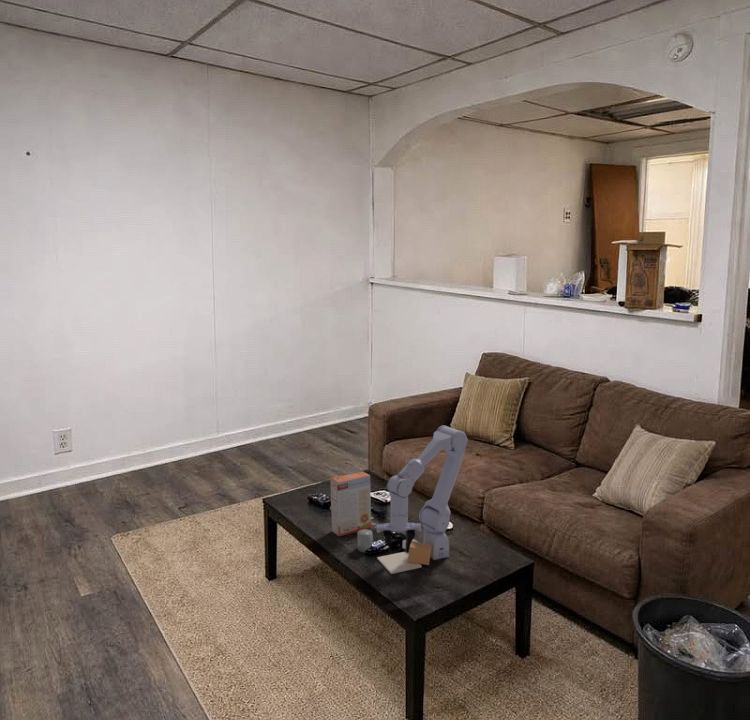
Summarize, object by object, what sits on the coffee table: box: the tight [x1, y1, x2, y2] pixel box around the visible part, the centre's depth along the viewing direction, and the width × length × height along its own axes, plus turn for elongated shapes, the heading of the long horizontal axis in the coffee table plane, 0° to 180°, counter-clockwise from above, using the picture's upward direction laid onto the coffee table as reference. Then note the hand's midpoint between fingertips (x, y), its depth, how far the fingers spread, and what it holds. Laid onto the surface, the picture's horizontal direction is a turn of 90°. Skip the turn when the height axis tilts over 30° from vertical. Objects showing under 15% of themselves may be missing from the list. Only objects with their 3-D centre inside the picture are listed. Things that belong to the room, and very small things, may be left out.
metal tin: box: [402, 538, 419, 551], centre depth 216 cm, size 5×4×3 cm
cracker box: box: [330, 471, 372, 538], centre depth 230 cm, size 14×6×21 cm, turn 122°
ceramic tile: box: [376, 551, 423, 575], centre depth 207 cm, size 11×11×1 cm
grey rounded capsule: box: [356, 529, 373, 553], centre depth 217 cm, size 5×5×6 cm
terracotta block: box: [408, 541, 432, 566], centre depth 207 cm, size 5×5×7 cm
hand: (398, 551), depth 206 cm, fingers open, 5 cm apart
